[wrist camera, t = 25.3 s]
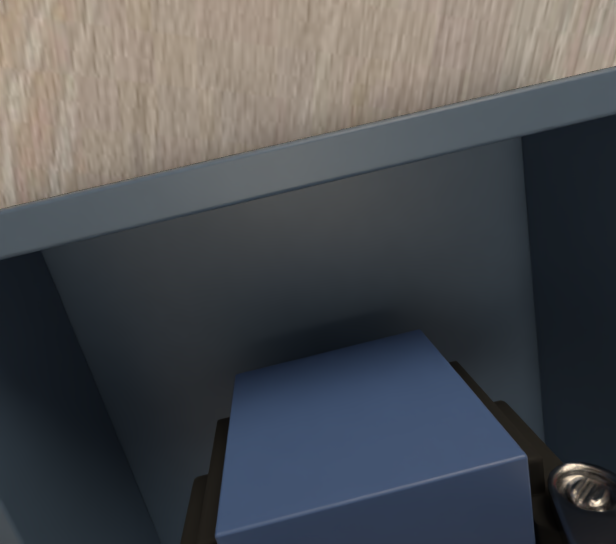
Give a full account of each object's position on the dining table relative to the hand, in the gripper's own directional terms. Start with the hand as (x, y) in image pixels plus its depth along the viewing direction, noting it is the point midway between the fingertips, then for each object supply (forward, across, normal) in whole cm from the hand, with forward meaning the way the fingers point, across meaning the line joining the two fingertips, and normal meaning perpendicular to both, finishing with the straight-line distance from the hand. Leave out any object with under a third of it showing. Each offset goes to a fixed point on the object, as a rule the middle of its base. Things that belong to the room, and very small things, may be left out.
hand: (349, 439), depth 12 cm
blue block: (0, 0, 0) cm, 0 cm away
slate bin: (+3, 0, 0) cm, 3 cm away
